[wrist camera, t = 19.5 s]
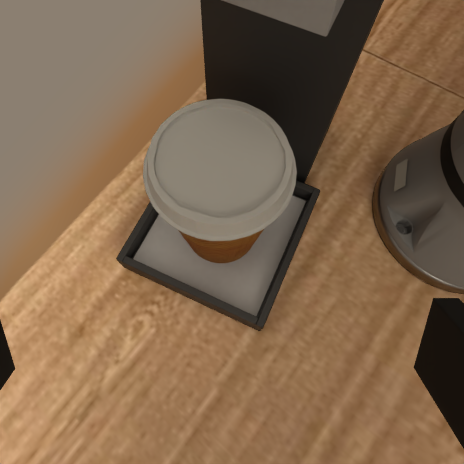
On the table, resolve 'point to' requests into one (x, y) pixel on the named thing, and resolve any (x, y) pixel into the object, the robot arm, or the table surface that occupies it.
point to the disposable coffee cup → (219, 175)
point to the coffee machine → (284, 114)
